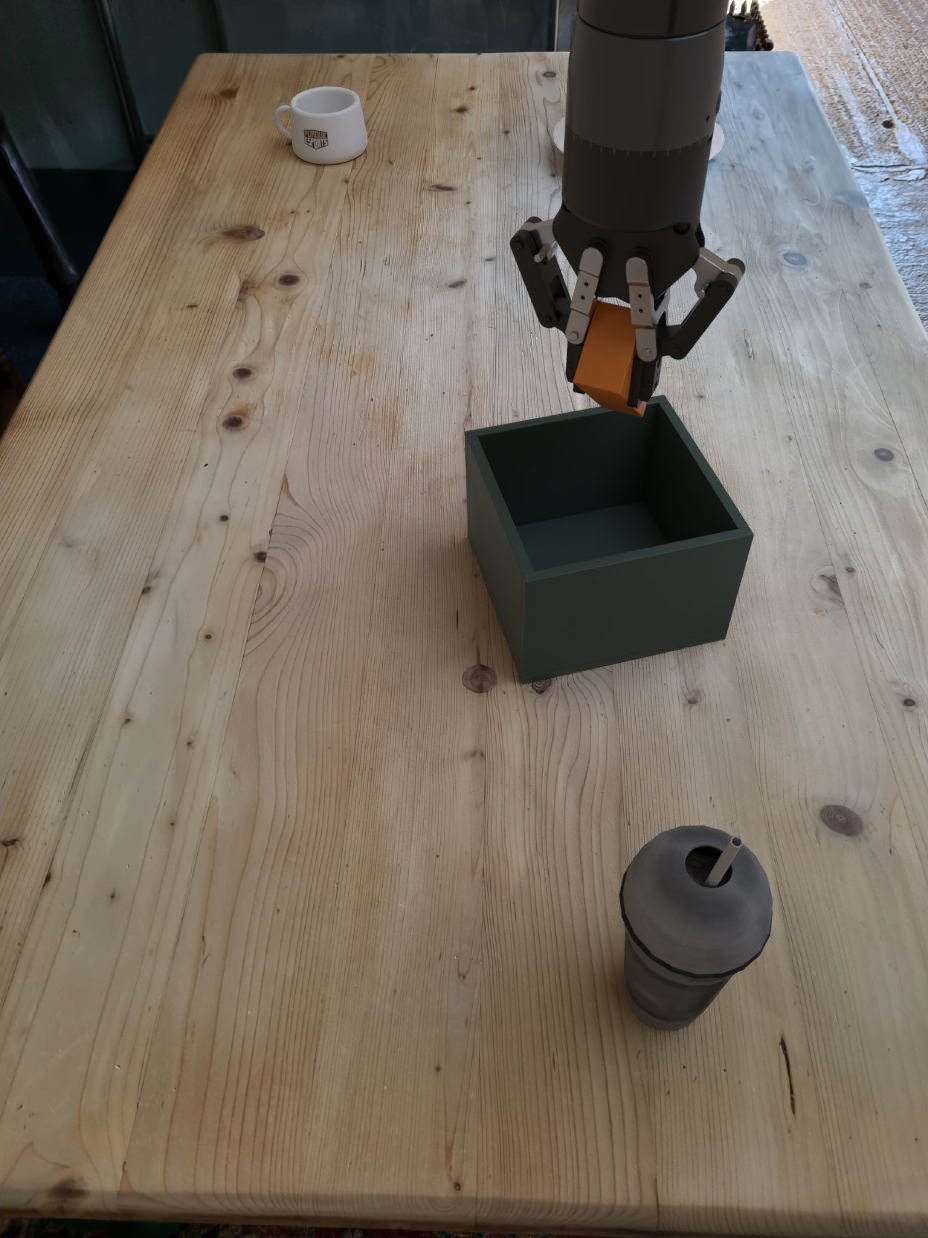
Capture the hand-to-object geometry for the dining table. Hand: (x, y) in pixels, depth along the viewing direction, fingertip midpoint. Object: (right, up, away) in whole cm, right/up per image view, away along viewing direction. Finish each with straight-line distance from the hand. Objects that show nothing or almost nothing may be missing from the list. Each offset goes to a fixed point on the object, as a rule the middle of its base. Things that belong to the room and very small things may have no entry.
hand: (610, 392), depth 63 cm
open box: (0, -12, +14) cm, 18 cm away
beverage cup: (+2, -36, -6) cm, 36 cm away
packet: (+2, +2, +5) cm, 5 cm away
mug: (-27, +46, +64) cm, 83 cm away
